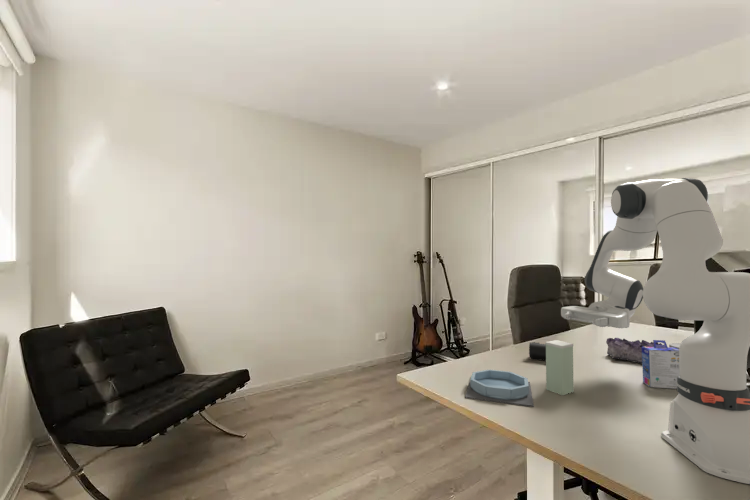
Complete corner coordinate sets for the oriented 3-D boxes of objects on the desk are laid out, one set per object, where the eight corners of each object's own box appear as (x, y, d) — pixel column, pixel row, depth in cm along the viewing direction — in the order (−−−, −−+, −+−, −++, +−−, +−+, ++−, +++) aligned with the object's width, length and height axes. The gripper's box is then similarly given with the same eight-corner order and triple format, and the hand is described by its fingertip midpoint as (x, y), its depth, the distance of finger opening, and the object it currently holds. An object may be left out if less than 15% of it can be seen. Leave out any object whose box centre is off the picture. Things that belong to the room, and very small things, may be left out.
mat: (533, 407, 101) (533, 405, 101) (465, 397, 108) (465, 396, 108) (529, 383, 120) (529, 381, 120) (471, 376, 126) (471, 375, 126)
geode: (666, 361, 144) (667, 337, 142) (669, 372, 134) (670, 347, 133) (606, 351, 155) (606, 329, 154) (605, 361, 146) (605, 338, 144)
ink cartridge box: (674, 383, 118) (674, 340, 118) (685, 390, 113) (684, 344, 113) (641, 381, 120) (640, 338, 120) (650, 387, 115) (649, 342, 115)
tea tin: (574, 392, 112) (573, 343, 112) (562, 395, 109) (562, 346, 109) (557, 386, 117) (556, 339, 117) (545, 389, 114) (545, 342, 114)
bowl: (530, 403, 102) (529, 392, 103) (468, 395, 109) (468, 384, 109) (527, 382, 119) (527, 373, 119) (473, 376, 125) (473, 367, 125)
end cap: (529, 361, 145) (529, 344, 145) (530, 356, 151) (530, 340, 151) (556, 364, 140) (556, 347, 140) (557, 359, 146) (556, 343, 146)
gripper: (573, 300, 135) (550, 305, 128) (634, 309, 117) (612, 315, 110) (573, 317, 135) (551, 322, 128) (634, 328, 118) (612, 335, 111)
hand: (579, 319), depth 119 cm, fingers open, 8 cm apart
